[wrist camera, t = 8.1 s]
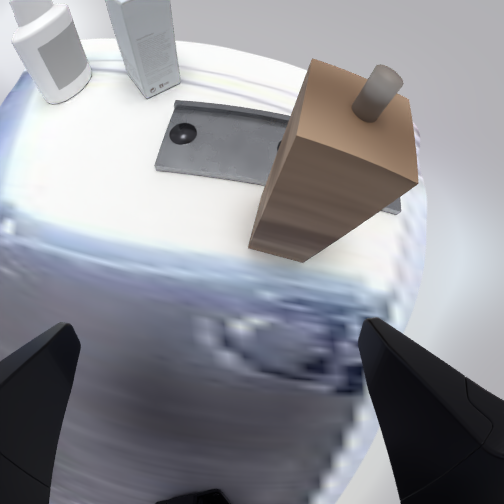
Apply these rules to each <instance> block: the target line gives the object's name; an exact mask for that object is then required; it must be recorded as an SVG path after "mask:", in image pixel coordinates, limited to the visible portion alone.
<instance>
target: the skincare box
mask: <svg viewBox="0 0 504 504" xmlns="http://www.w3.org/2000/svg"><path fill="white" fill-rule="evenodd" d="M105 2H106V6H107V9H108V12H109V16H110V20H111V23H112V26H113V30H114V33H115V36H116V39H117V43H118V46H119V49H120V52H121V55H122V58H123V61H124V64H125V67H126V70H127V73H128V75H129V76H130V78H131V79H132V80H133V82H134V83H135V84H136V85H137V87H138V88H139V89H140V91H141V92H142V93H143V95H144V96H145V97H146V98H149V97H151V96H154V95H156V94H158V93H160V92H162V91H164V90H166V89H169V88H171V87H173V86H175V85H177V84H179V83H180V73H179V66H178V59H177V52H176V44H175V36H174V28H173V21H172V12H171V4H170V0H105Z"/></svg>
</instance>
